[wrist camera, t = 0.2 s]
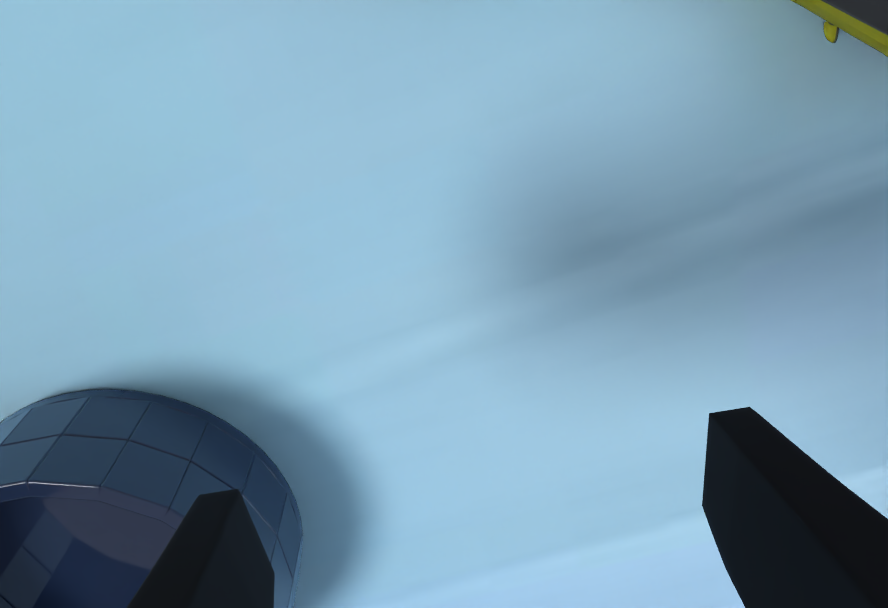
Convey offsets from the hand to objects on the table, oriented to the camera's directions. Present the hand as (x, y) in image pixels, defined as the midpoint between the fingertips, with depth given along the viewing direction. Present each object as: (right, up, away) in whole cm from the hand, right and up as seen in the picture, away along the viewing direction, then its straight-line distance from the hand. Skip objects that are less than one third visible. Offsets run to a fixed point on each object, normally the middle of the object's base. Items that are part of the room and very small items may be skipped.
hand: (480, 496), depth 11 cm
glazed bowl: (-11, -5, +13) cm, 17 cm away
